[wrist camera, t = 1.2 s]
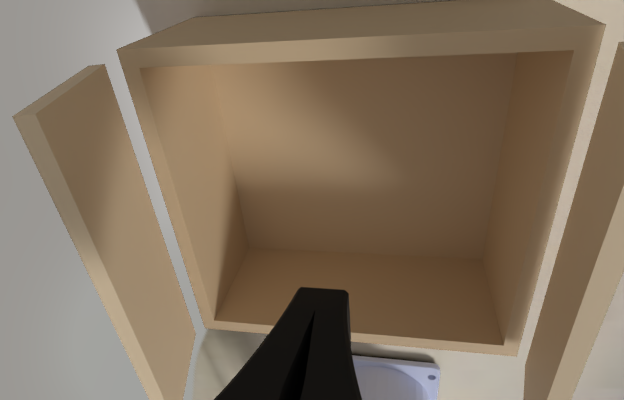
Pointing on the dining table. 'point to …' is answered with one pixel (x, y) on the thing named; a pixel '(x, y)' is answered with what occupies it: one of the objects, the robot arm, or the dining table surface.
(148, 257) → the far flap
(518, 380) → the dining table surface
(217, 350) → the dining table surface
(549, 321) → the near flap
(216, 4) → the dining table surface
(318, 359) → the robot arm
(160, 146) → the carton
